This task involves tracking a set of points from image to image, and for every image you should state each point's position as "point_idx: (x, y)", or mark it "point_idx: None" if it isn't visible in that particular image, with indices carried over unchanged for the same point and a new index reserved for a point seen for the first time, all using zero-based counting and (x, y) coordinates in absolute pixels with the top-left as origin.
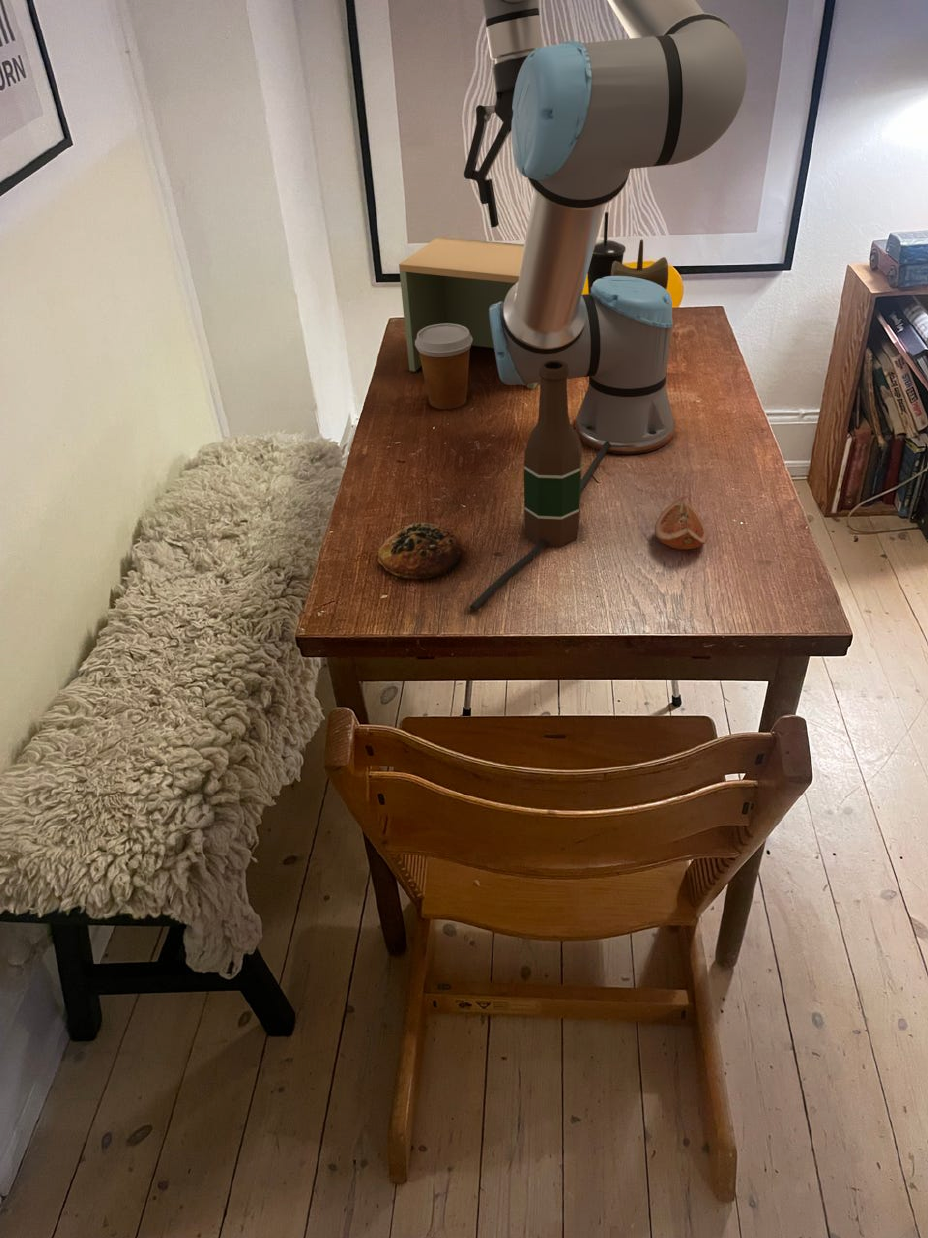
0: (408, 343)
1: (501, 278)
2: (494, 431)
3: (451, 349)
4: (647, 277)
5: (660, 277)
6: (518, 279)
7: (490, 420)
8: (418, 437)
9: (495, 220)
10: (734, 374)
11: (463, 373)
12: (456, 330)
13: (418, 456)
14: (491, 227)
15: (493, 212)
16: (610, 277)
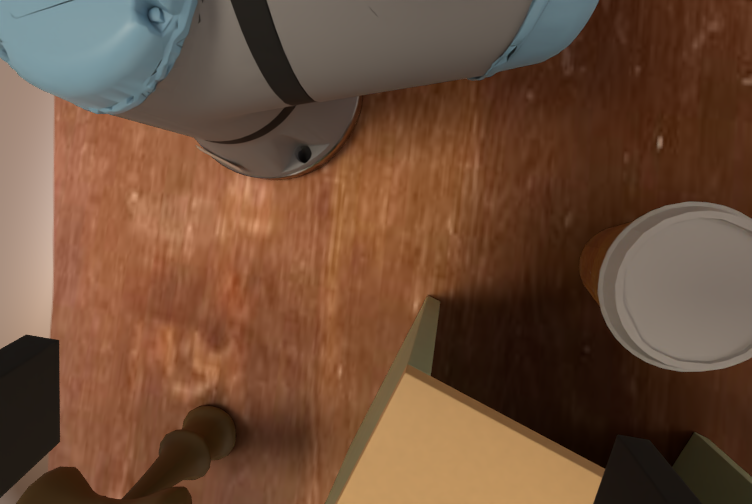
0: (745, 472)
1: (519, 427)
2: (526, 114)
3: (670, 210)
4: (84, 502)
5: (52, 486)
6: (457, 394)
7: (530, 164)
8: (698, 101)
9: (633, 465)
10: (58, 295)
11: (606, 238)
12: (651, 320)
13: (702, 14)
14: (648, 440)
15: (672, 501)
16: (112, 21)
